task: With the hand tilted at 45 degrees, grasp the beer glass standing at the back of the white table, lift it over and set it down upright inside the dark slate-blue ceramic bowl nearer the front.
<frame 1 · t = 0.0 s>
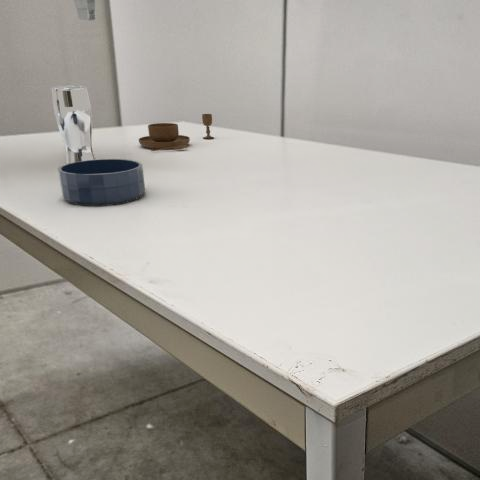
hand: (87, 20, 117), 27 cm above the table, tool pointing down, fingers open, 8 cm apart
bowl: (105, 196, 103), on the table
beer glass: (81, 165, 127), on the table
place setting: (181, 145, 150), on the table
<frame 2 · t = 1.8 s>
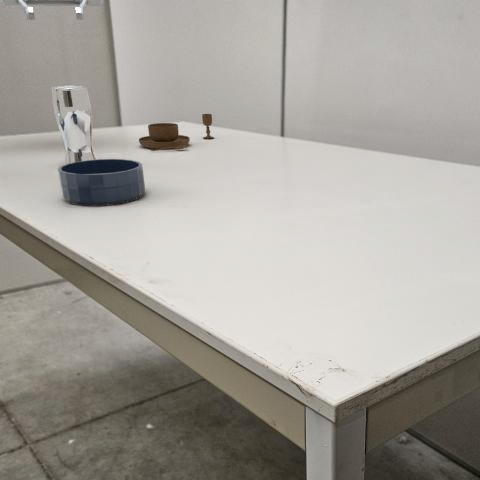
hand: (55, 17, 125), 27 cm above the table, tool tilted 45°, fingers open, 8 cm apart
nothing on the table moved.
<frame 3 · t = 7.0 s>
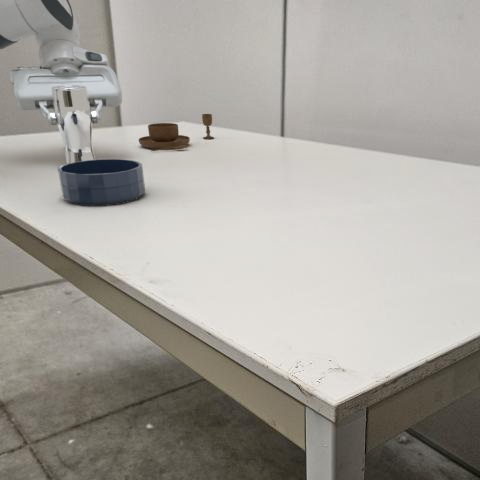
hand: (75, 122, 123), 8 cm above the table, tool tilted 45°, fingers closed on beer glass, 7 cm apart
beer glass: (81, 165, 127), on the table, touching gripper
everything else where it was.
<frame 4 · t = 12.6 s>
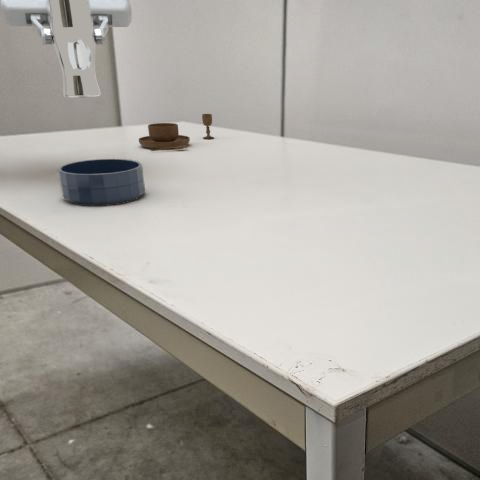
hand: (74, 41, 101), 23 cm above the table, tool tilted 45°, fingers closed on beer glass, 7 cm apart
beer glass: (82, 97, 105), point 15 cm above the table, touching gripper
everything else where it was.
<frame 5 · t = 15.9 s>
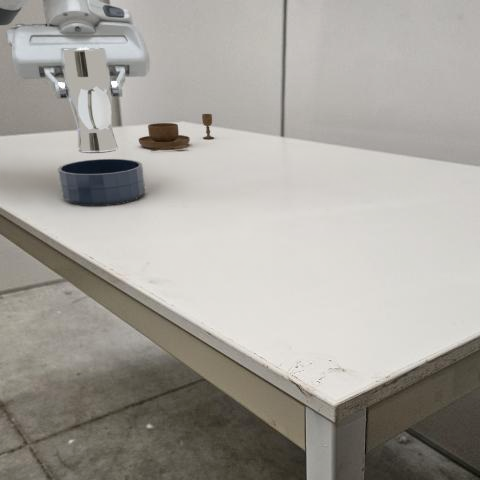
hand: (90, 95, 95), 16 cm above the table, tool tilted 45°, fingers closed on beer glass, 7 cm apart
beer glass: (98, 151, 100), point 7 cm above the table, touching gripper
everything else where it was.
when the fingers open (9 cm above the table, at t = 18.4 s): beer glass stays where it is, resting on bowl.
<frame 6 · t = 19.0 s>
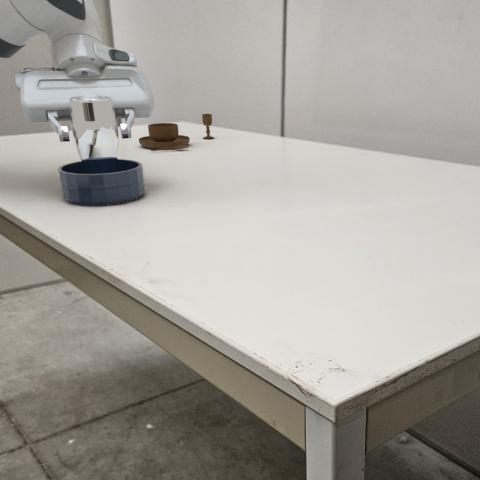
hand: (96, 137, 98), 10 cm above the table, tool tilted 45°, fingers open, 8 cm apart
beer glass: (104, 194, 103), resting on bowl
everything else where it was.
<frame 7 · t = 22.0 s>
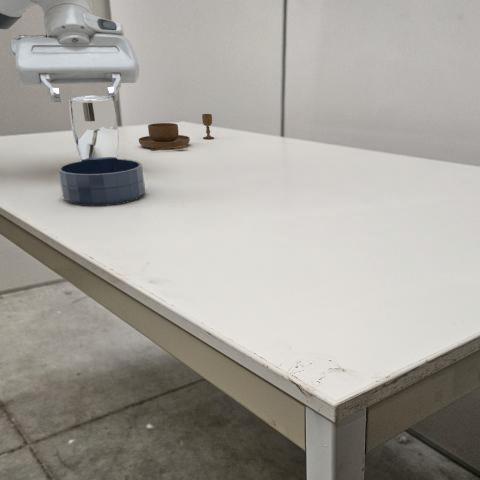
hand: (85, 99, 107), 14 cm above the table, tool tilted 45°, fingers open, 8 cm apart
nothing on the table moved.
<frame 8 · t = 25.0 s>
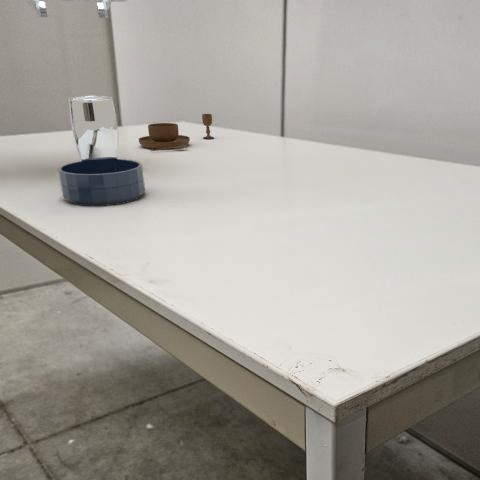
hand: (73, 14, 101), 27 cm above the table, tool tilted 45°, fingers open, 8 cm apart
nothing on the table moved.
at the end: beer glass 0.0 cm off-centre in the bowl, point 0.4 cm above the bowl's base; beer glass tilted 0°; the gripper is holding nothing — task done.
